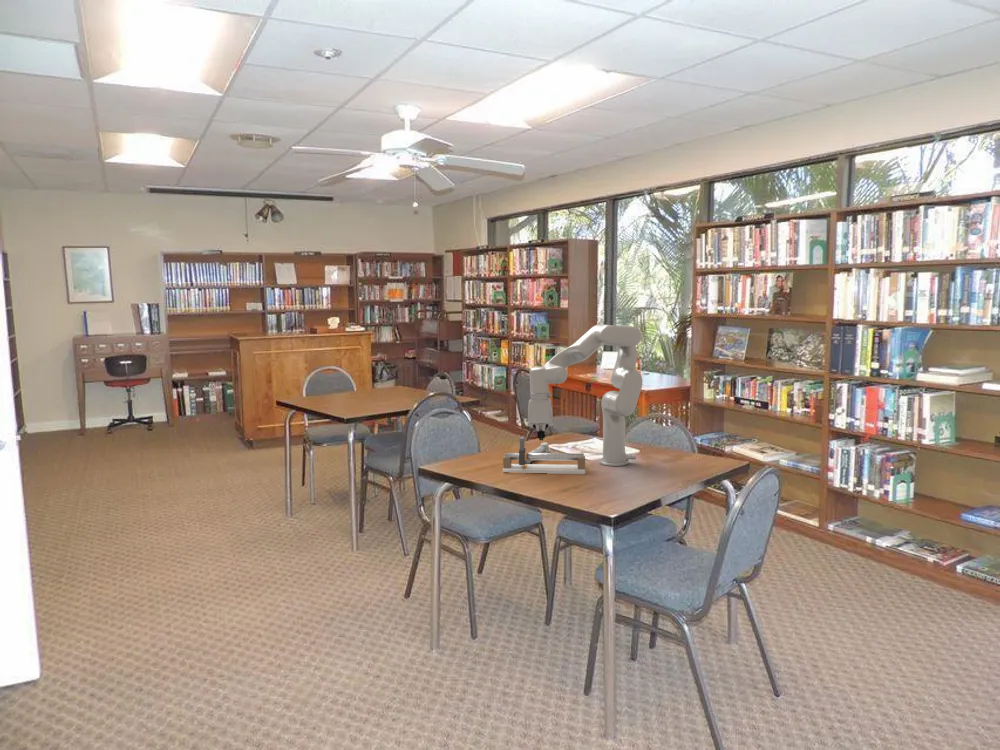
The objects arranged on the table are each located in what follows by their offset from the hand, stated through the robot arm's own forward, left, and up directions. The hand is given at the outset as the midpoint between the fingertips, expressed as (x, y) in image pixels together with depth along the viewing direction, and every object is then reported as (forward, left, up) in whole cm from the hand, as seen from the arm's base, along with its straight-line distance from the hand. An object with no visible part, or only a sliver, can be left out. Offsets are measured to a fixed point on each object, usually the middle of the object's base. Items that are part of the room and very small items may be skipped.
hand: (541, 439), depth 294 cm
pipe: (-1, 0, -9) cm, 9 cm away
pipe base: (-1, 0, -13) cm, 13 cm away
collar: (+8, 0, -10) cm, 13 cm away
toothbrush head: (+3, -19, -14) cm, 24 cm away
